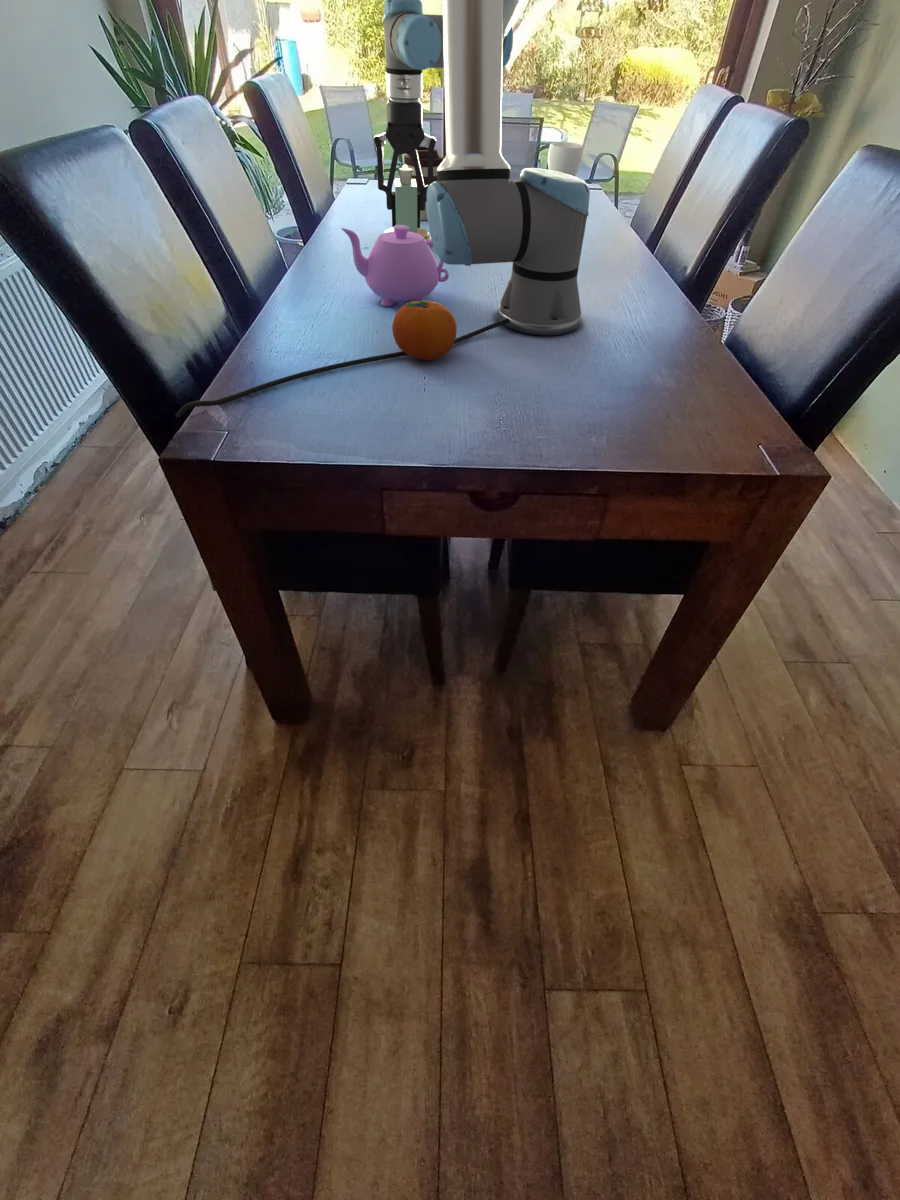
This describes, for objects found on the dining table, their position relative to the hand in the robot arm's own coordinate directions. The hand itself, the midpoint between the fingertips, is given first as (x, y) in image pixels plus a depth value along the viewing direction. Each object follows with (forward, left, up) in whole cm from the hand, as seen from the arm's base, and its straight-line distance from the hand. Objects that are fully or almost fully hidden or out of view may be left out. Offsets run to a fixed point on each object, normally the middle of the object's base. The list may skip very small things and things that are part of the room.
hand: (406, 225), depth 147 cm
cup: (+46, -20, -4) cm, 50 cm away
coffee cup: (+23, +9, -4) cm, 25 cm away
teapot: (-32, -18, -4) cm, 37 cm away
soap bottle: (0, 0, -2) cm, 2 cm away
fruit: (-52, -36, -4) cm, 63 cm away
